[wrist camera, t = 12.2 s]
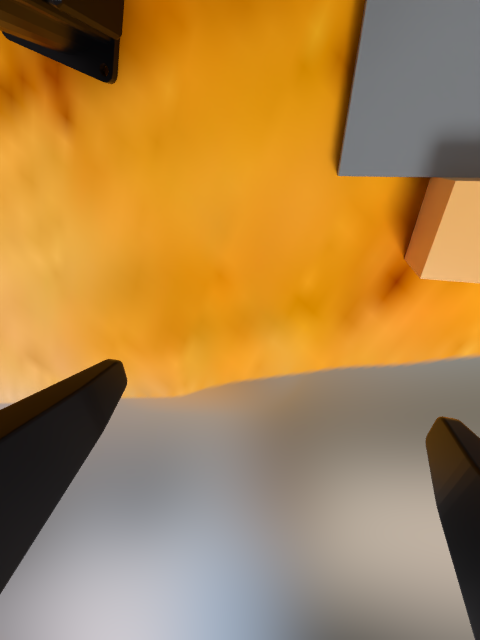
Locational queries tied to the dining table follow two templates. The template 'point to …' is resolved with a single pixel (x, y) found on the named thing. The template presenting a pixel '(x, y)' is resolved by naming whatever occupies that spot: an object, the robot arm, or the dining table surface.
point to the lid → (422, 123)
